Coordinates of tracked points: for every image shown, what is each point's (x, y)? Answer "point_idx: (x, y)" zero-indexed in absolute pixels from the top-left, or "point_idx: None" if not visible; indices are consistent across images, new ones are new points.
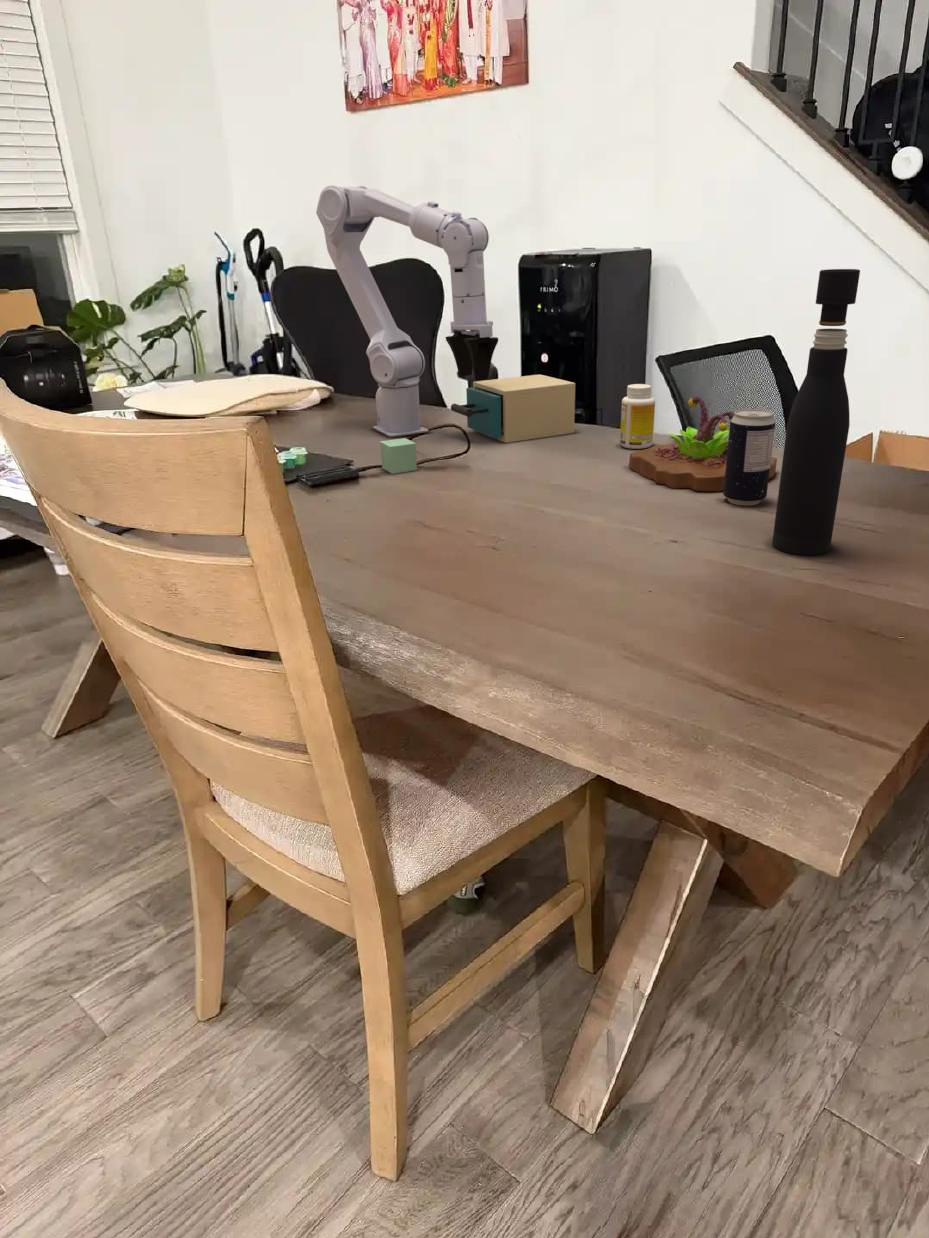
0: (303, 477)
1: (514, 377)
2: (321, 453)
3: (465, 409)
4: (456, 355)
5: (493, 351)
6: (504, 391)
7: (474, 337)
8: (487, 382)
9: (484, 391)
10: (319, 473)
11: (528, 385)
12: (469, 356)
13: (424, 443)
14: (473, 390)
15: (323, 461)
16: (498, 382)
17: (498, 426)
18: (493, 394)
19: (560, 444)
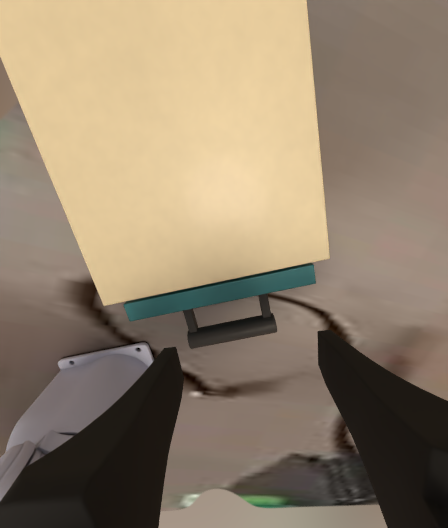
0: (347, 500)
1: (38, 133)
2: (233, 480)
3: (266, 333)
4: (164, 461)
5: (433, 395)
6: (326, 258)
7: (106, 483)
8: (132, 266)
9: (209, 288)
10: (338, 486)
11: (256, 140)
12: (154, 405)
13: (226, 359)
14: (176, 311)
15: (279, 481)
16: (145, 230)
17: None
18: (272, 276)
19: (352, 113)
